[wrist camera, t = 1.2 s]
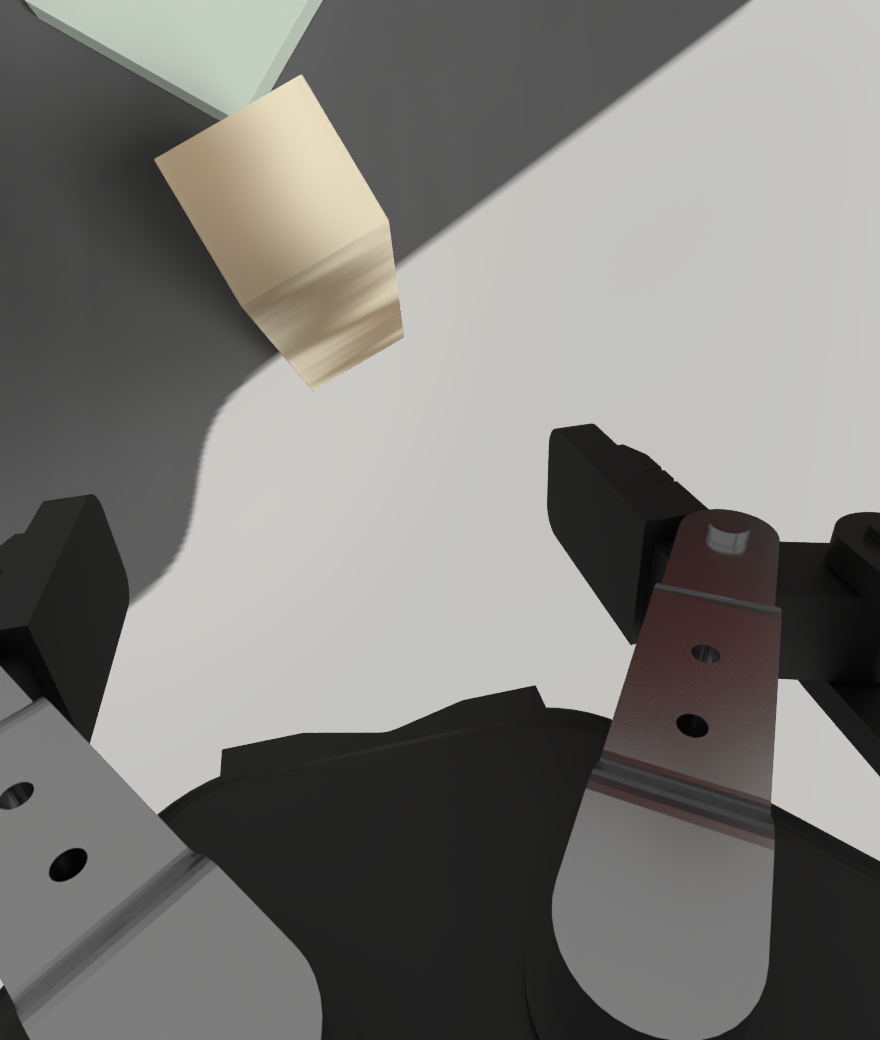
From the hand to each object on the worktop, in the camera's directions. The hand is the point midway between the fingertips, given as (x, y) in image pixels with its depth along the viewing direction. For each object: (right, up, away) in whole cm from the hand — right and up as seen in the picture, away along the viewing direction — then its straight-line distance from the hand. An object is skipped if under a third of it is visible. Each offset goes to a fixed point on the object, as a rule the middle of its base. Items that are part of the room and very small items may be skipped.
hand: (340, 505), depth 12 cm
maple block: (-3, +8, +17) cm, 19 cm away
